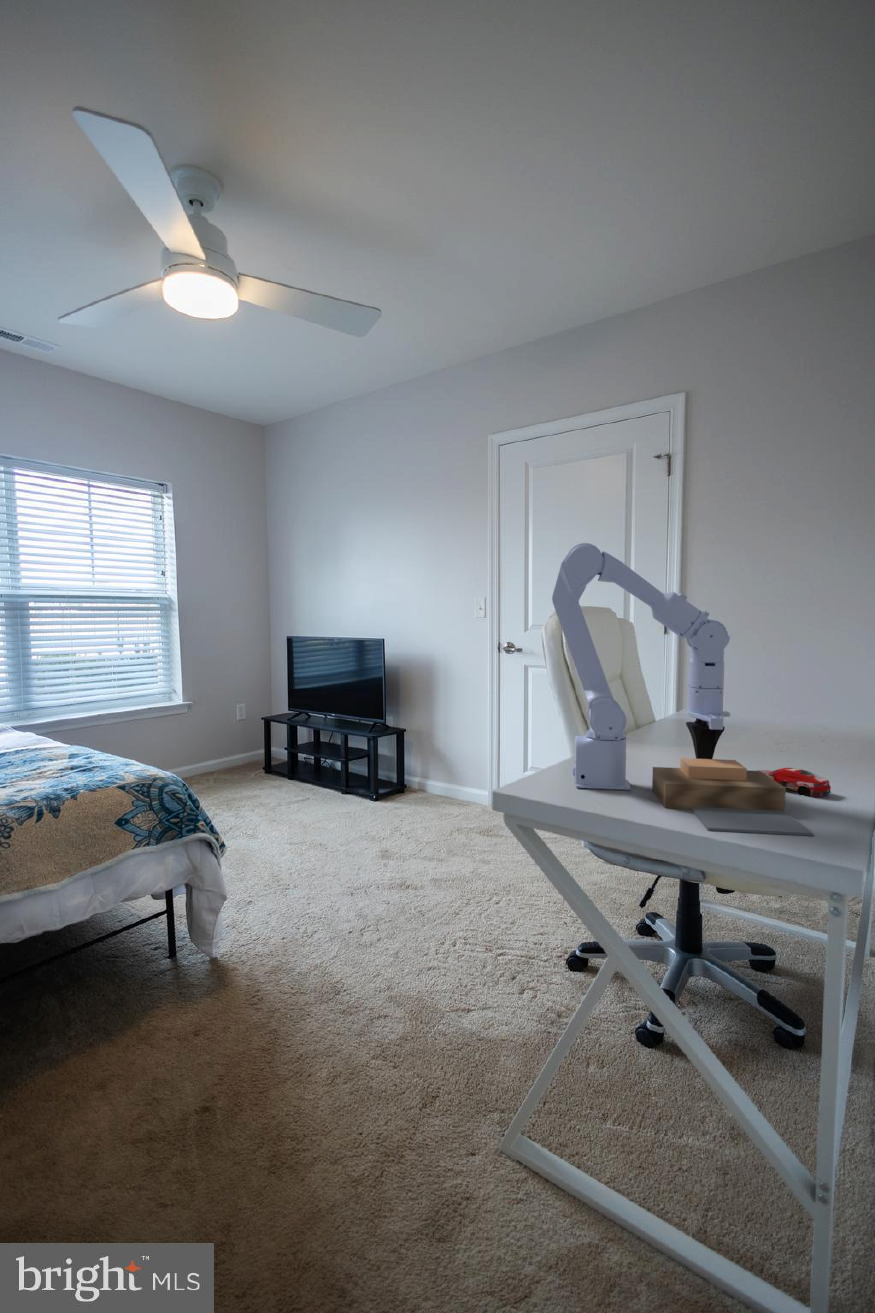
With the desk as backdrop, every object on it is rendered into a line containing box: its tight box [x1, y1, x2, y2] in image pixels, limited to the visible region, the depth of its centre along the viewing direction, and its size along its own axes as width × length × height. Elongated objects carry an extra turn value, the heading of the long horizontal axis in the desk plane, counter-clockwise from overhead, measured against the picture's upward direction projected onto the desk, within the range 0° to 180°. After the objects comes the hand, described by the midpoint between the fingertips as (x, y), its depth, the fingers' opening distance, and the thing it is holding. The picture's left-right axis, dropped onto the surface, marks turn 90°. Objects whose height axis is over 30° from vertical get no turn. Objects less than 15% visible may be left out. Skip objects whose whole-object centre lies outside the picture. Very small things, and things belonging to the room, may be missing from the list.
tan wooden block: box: [679, 757, 748, 780], centre depth 104 cm, size 9×6×2 cm, turn 81°
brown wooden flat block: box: [651, 766, 787, 811], centre depth 102 cm, size 18×11×4 cm, turn 81°
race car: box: [756, 767, 832, 797], centre depth 109 cm, size 13×5×4 cm, turn 39°
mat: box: [690, 807, 814, 837], centre depth 92 cm, size 14×10×1 cm
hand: (703, 762), depth 109 cm, fingers closed
